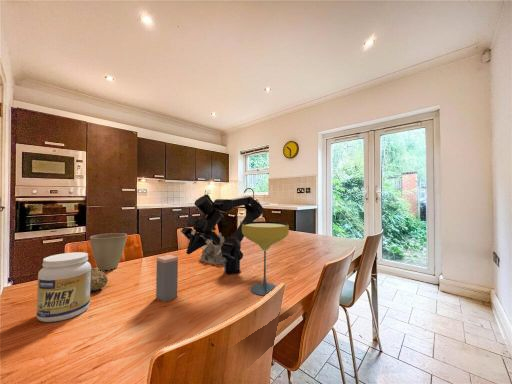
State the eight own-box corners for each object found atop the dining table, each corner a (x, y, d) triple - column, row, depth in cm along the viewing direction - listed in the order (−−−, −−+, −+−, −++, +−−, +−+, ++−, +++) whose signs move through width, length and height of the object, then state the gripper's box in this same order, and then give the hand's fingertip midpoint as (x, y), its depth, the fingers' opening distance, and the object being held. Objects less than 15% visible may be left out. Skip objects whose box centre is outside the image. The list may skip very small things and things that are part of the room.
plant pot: (127, 270, 104) (128, 236, 105) (88, 276, 96) (88, 239, 96) (125, 262, 117) (125, 231, 117) (90, 266, 108) (90, 234, 109)
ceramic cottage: (201, 256, 128) (202, 231, 128) (229, 256, 130) (230, 231, 130) (197, 266, 113) (198, 237, 112) (229, 267, 115) (230, 238, 114)
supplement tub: (26, 328, 58) (28, 264, 59) (48, 307, 70) (49, 253, 70) (83, 318, 63) (84, 259, 64) (94, 300, 74) (96, 249, 75)
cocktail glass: (245, 279, 94) (246, 220, 95) (288, 281, 92) (288, 221, 92) (236, 298, 76) (237, 226, 77) (288, 302, 74) (289, 228, 74)
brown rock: (68, 285, 89) (57, 293, 73) (74, 265, 92) (65, 268, 75) (106, 285, 96) (104, 292, 79) (111, 266, 98) (110, 269, 82)
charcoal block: (169, 292, 80) (169, 254, 81) (177, 296, 77) (177, 256, 78) (156, 297, 76) (156, 257, 77) (164, 302, 73) (164, 260, 74)
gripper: (185, 208, 94) (160, 238, 85) (215, 210, 83) (190, 244, 74) (199, 224, 100) (177, 254, 91) (229, 228, 89) (208, 262, 80)
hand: (187, 253), depth 84 cm, fingers closed
